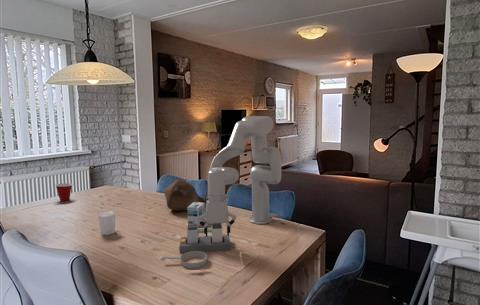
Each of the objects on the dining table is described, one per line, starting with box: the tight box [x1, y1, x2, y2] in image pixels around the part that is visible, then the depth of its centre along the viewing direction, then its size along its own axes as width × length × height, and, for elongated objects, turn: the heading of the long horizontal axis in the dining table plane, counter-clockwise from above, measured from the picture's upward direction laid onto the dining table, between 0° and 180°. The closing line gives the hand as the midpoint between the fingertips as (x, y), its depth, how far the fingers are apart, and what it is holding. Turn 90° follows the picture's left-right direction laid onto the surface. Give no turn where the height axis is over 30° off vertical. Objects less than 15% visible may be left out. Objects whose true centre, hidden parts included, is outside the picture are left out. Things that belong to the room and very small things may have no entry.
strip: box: [178, 234, 232, 254], centre depth 139 cm, size 22×10×5 cm, turn 96°
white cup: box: [98, 211, 116, 236], centre depth 160 cm, size 8×8×10 cm
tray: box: [198, 227, 212, 236], centre depth 153 cm, size 11×11×2 cm
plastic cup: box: [55, 182, 74, 203], centre depth 221 cm, size 11×11×12 cm
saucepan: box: [161, 251, 208, 271], centre depth 125 cm, size 11×18×4 cm, turn 92°
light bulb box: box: [186, 202, 206, 227], centre depth 172 cm, size 11×7×11 cm, turn 168°
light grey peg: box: [186, 224, 199, 244], centre depth 138 cm, size 4×4×10 cm
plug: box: [211, 223, 223, 243], centre depth 140 cm, size 4×4×10 cm
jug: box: [163, 179, 208, 212], centre depth 196 cm, size 20×20×30 cm
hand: (217, 234), depth 139 cm, fingers open, 9 cm apart
